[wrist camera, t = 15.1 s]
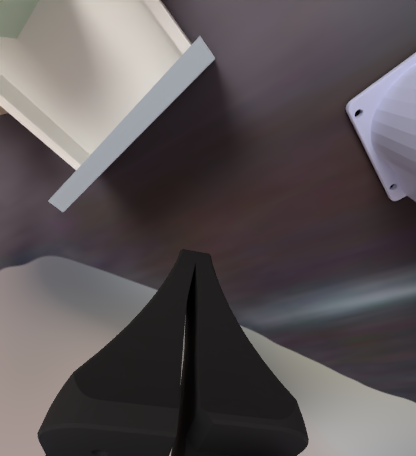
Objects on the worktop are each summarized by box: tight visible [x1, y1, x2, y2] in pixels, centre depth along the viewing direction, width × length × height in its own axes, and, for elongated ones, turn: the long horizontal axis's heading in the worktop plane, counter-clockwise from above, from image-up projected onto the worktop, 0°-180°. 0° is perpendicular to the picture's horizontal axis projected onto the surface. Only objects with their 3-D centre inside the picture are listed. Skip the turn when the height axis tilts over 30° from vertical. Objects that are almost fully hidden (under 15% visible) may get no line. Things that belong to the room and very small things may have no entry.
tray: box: [0, 0, 215, 212], centre depth 12 cm, size 16×12×6 cm
